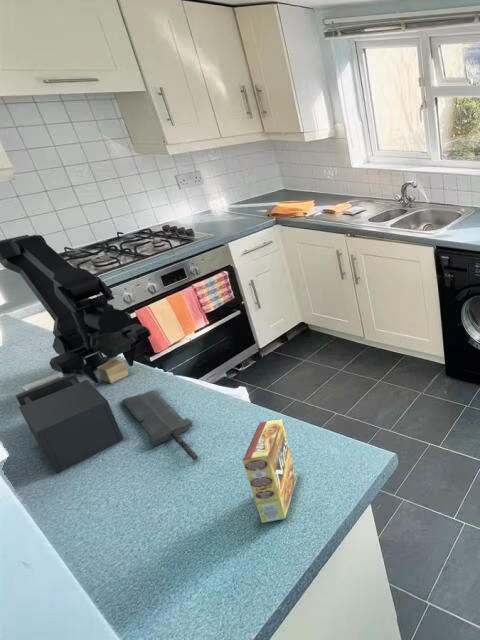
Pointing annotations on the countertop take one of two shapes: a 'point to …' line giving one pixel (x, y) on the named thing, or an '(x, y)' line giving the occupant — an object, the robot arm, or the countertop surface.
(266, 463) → the candy box
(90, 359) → the robot arm
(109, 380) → the block
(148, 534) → the countertop surface
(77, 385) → the dark grey drawer box
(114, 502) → the countertop surface
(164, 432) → the grey flat handled slab
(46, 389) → the dark grey drawer
